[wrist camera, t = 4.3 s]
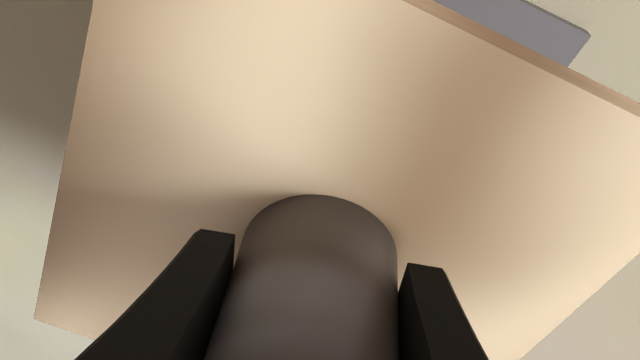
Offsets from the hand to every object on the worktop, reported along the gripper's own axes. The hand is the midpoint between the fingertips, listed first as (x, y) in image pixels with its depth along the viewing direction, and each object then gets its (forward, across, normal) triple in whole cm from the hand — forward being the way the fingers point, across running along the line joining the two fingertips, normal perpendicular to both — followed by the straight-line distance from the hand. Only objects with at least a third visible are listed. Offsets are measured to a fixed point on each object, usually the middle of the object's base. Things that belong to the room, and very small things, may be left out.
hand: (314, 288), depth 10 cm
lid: (+2, 0, 0) cm, 2 cm away
